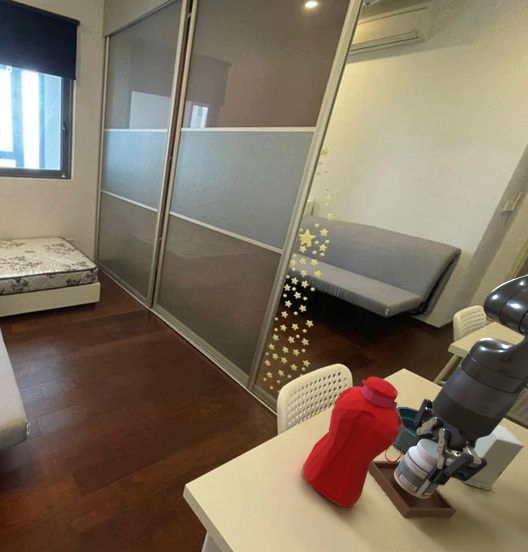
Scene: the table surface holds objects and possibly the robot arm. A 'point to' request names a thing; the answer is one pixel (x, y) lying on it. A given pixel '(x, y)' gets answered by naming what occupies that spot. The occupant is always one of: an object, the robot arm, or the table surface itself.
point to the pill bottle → (418, 469)
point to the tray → (405, 501)
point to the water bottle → (354, 440)
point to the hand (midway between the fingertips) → (424, 465)
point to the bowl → (409, 429)
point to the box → (494, 456)
